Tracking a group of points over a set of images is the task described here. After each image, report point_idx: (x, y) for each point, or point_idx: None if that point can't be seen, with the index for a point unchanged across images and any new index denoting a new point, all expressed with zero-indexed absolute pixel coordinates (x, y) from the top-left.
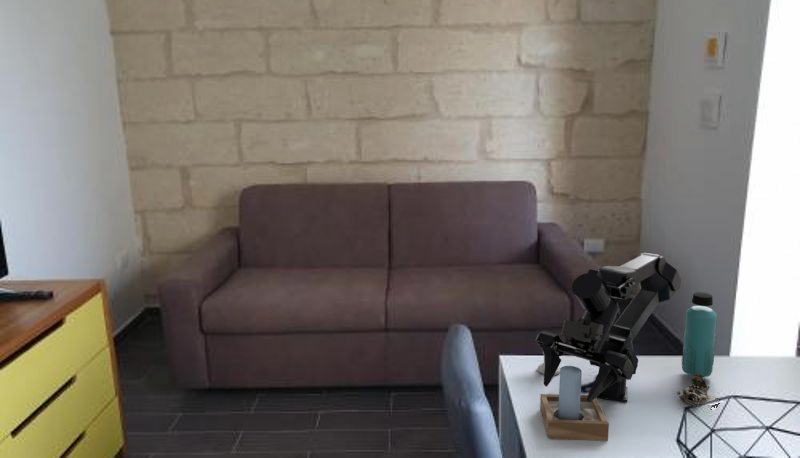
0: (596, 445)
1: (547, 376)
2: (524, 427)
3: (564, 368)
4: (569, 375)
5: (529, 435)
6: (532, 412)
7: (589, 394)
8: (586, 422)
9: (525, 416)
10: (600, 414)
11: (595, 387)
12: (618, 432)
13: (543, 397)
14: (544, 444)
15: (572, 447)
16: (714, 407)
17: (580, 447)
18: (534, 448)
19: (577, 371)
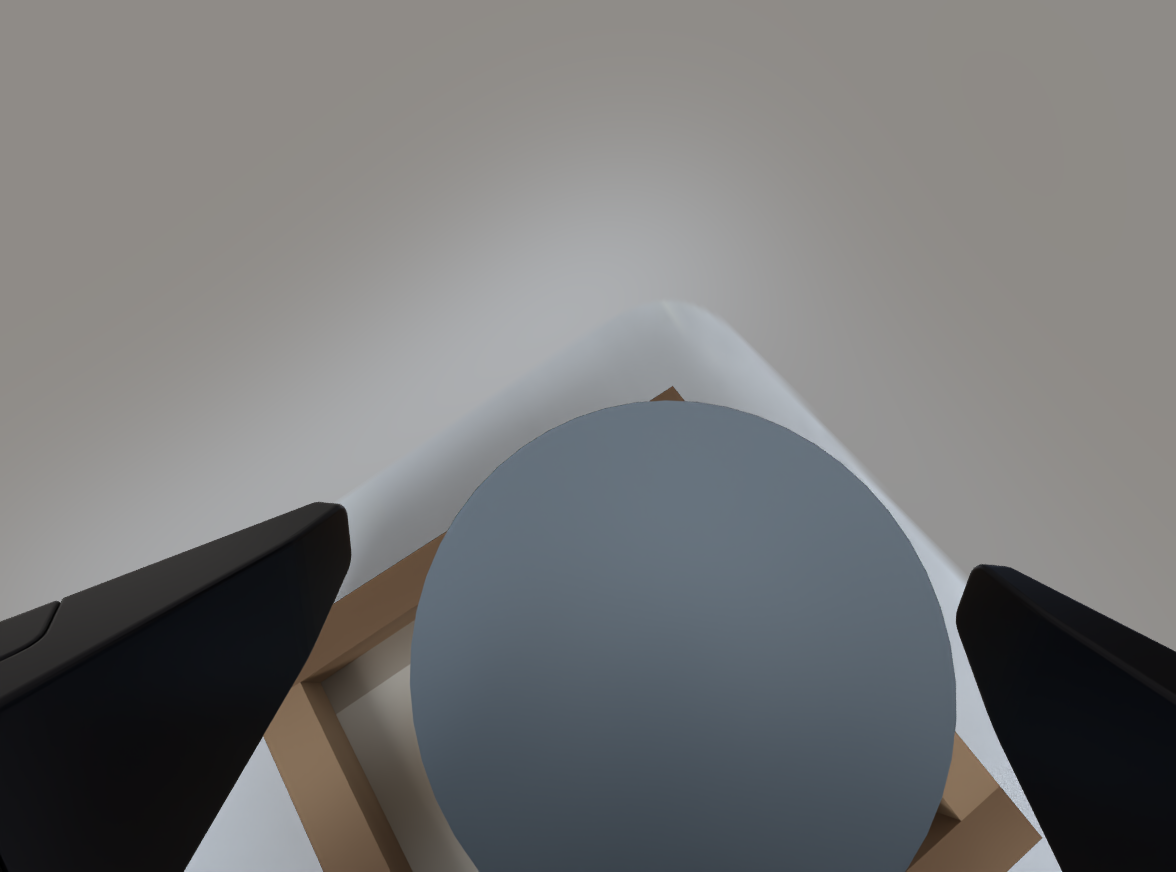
0: (365, 563)
1: (1057, 616)
2: (858, 472)
3: (853, 643)
4: (597, 411)
5: (774, 407)
6: (956, 713)
7: (290, 523)
8: (417, 565)
9: (952, 615)
10: (340, 802)
11: (149, 573)
12: (255, 864)
13: (967, 777)
14: (648, 375)
15: (493, 446)
16: None
17: (450, 476)
18: (674, 308)
19: (515, 688)
